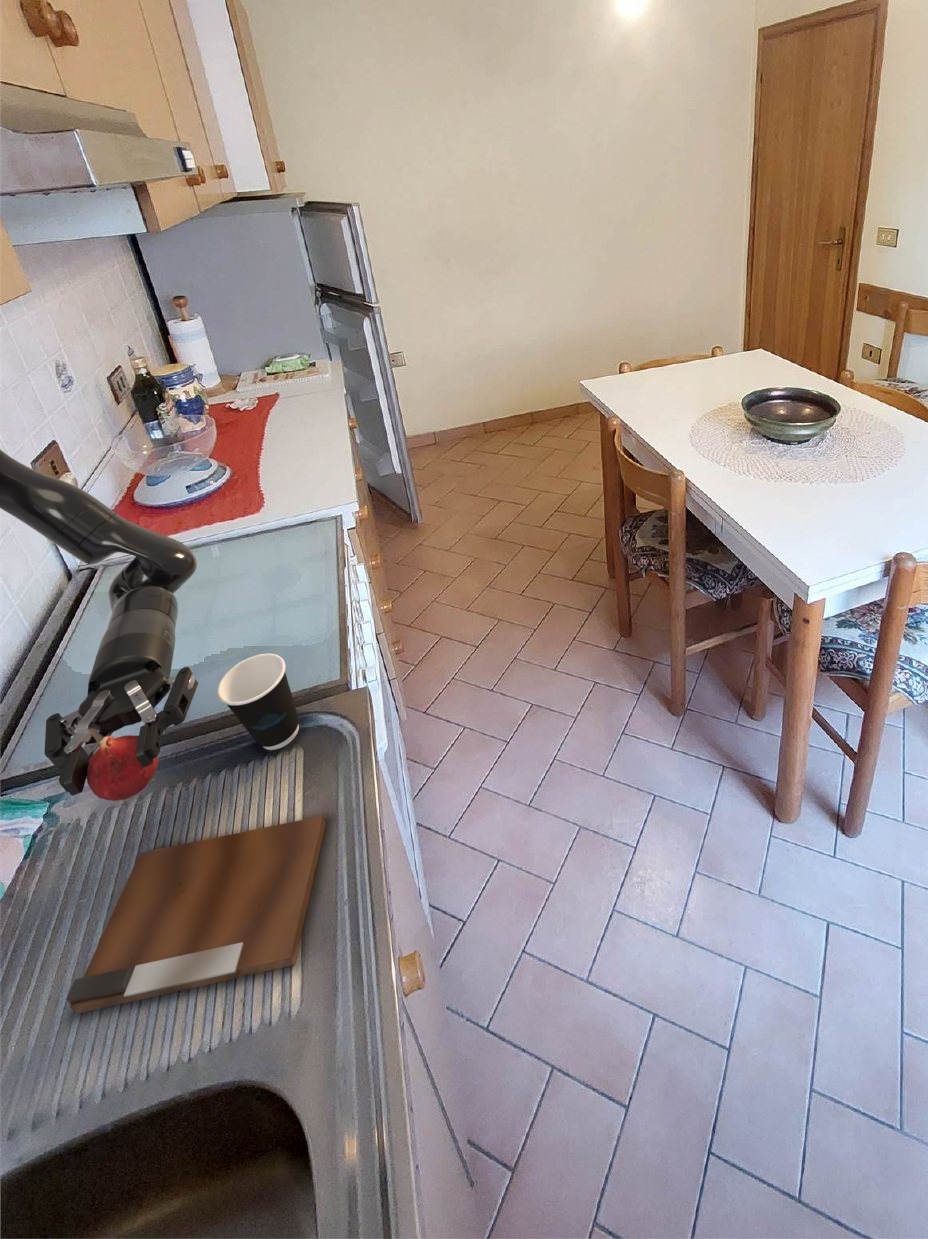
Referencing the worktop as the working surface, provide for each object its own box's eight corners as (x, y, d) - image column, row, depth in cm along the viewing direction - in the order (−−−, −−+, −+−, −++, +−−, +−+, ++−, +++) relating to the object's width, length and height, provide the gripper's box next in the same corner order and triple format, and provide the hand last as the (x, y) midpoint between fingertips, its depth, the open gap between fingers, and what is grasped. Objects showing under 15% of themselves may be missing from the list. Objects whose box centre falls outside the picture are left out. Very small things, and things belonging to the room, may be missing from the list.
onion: (171, 794, 66) (138, 745, 62) (106, 828, 64) (67, 780, 60) (167, 753, 71) (136, 706, 67) (107, 784, 68) (70, 736, 64)
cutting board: (75, 1017, 60) (62, 1005, 59) (145, 860, 72) (136, 847, 71) (294, 968, 62) (286, 955, 61) (326, 823, 74) (319, 810, 73)
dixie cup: (278, 769, 81) (247, 711, 76) (234, 750, 84) (202, 693, 79) (323, 718, 87) (298, 661, 82) (281, 702, 90) (254, 646, 85)
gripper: (214, 655, 80) (204, 766, 66) (80, 702, 75) (40, 832, 61) (190, 611, 76) (174, 719, 63) (47, 658, 71) (-3, 786, 58)
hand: (108, 774), depth 62 cm, fingers closed on onion, 5 cm apart
